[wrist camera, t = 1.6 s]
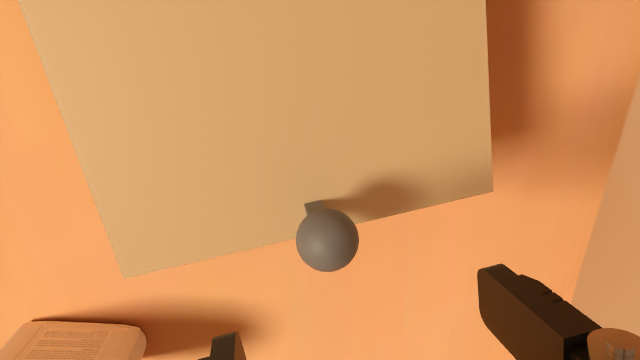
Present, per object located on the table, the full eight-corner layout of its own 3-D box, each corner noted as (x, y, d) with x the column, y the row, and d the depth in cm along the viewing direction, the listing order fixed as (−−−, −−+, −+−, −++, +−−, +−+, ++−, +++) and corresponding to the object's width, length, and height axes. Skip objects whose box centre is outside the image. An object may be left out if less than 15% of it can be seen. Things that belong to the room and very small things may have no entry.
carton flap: (13, -34, 17) (-112, -88, 11) (472, -101, 20) (569, -174, 14) (128, 271, 22) (82, 347, 16) (485, 187, 25) (561, 226, 19)
